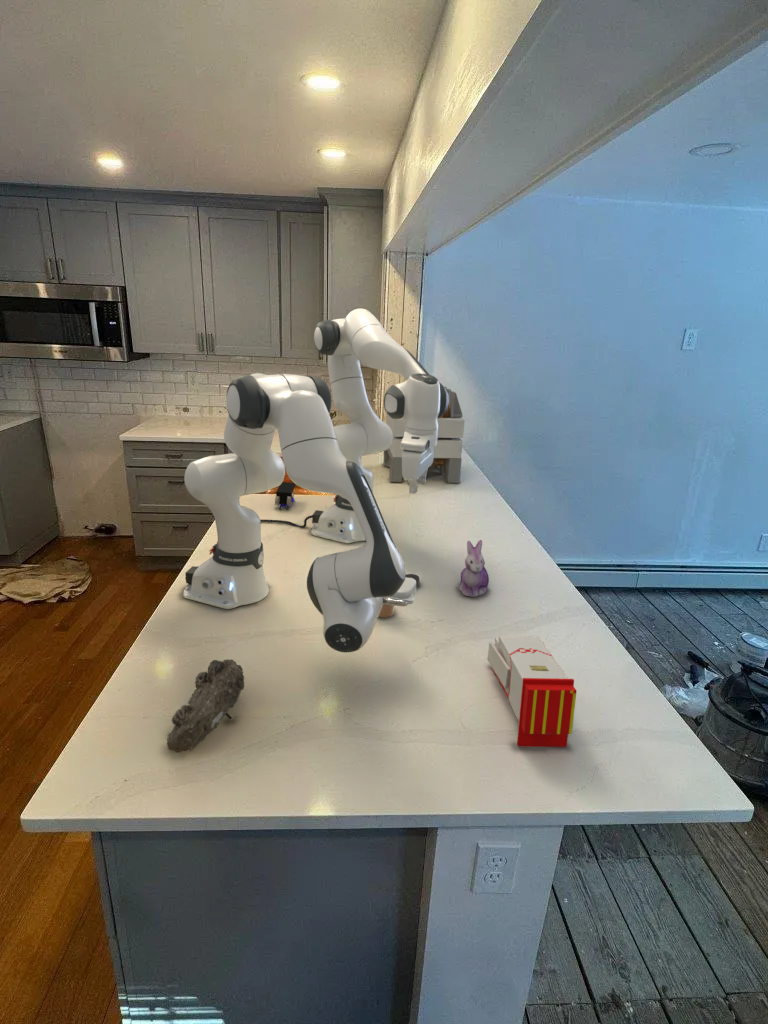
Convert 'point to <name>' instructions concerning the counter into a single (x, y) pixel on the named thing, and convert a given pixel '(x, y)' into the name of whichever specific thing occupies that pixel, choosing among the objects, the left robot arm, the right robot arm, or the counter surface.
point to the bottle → (386, 611)
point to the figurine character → (285, 494)
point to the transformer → (444, 452)
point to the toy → (534, 690)
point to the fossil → (206, 705)
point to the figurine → (474, 572)
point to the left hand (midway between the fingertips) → (376, 570)
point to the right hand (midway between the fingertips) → (417, 488)
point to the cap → (414, 578)
